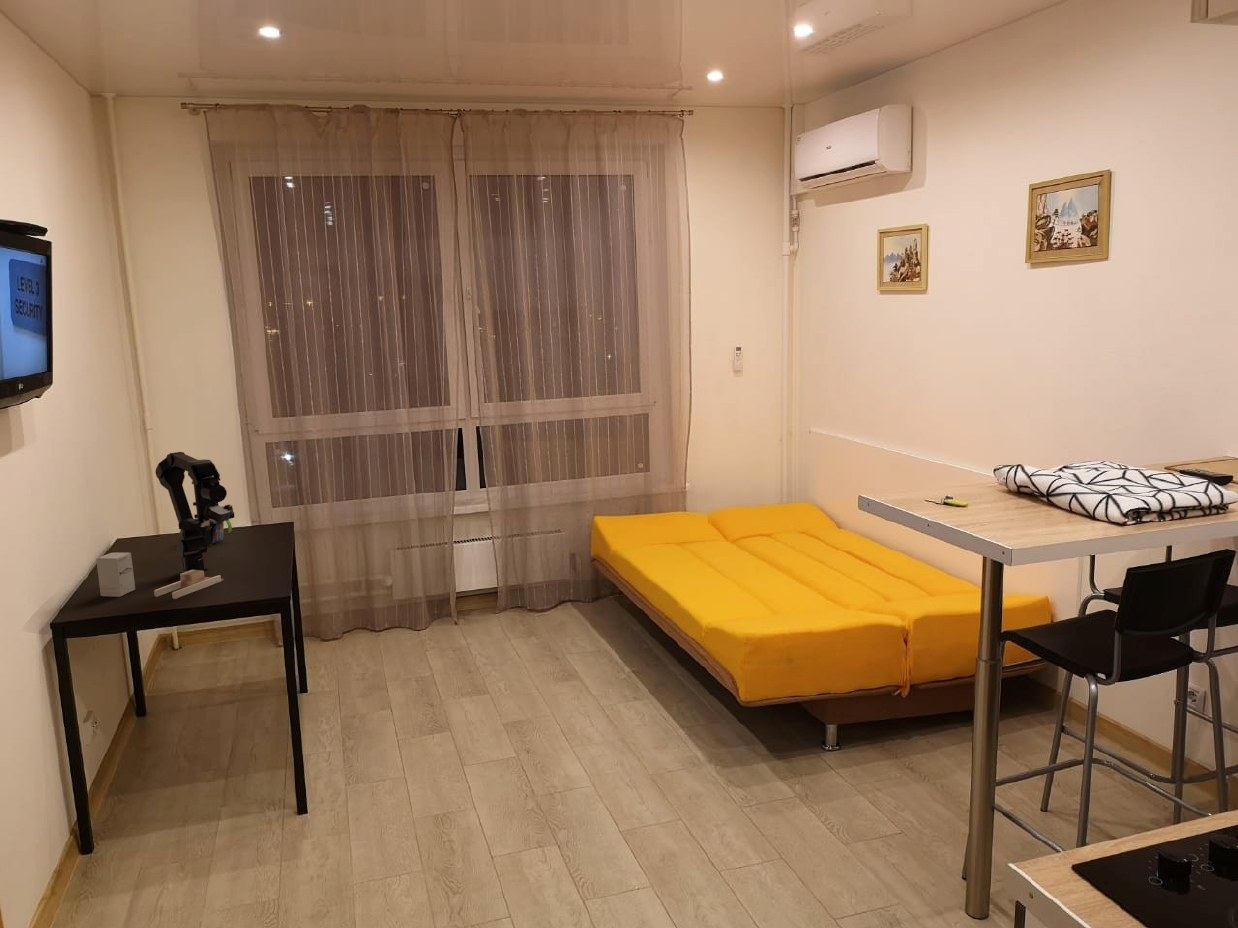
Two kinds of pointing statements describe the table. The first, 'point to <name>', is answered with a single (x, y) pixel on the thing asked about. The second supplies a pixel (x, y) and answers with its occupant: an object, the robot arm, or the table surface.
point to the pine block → (191, 578)
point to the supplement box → (115, 574)
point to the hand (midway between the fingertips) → (209, 544)
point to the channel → (189, 589)
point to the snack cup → (220, 531)
